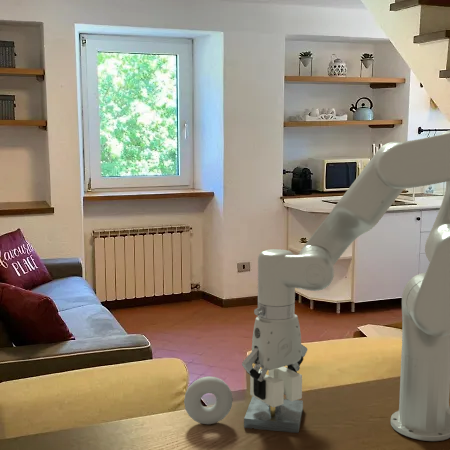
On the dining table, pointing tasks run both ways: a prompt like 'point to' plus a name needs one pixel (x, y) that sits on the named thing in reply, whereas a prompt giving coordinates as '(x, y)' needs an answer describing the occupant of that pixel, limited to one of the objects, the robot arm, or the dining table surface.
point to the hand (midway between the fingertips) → (275, 392)
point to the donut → (201, 388)
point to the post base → (274, 416)
